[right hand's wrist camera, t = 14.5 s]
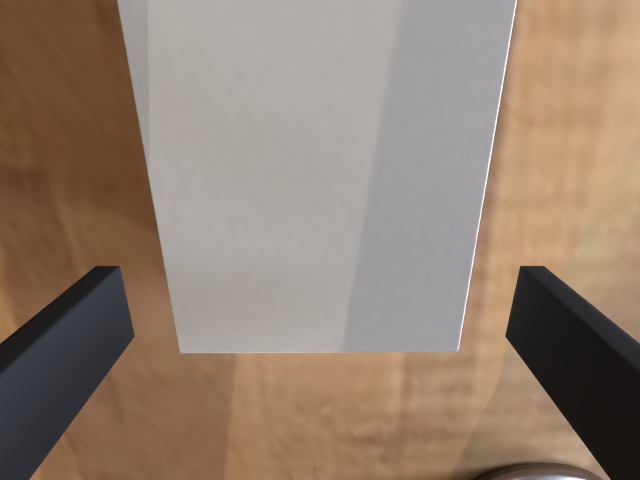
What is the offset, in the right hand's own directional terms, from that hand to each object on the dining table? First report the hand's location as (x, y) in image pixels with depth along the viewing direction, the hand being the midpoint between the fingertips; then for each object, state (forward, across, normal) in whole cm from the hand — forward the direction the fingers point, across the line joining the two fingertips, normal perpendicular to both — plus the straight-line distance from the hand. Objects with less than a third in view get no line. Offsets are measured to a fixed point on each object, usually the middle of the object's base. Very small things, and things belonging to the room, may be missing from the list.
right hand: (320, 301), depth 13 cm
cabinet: (+10, 0, -7) cm, 12 cm away
